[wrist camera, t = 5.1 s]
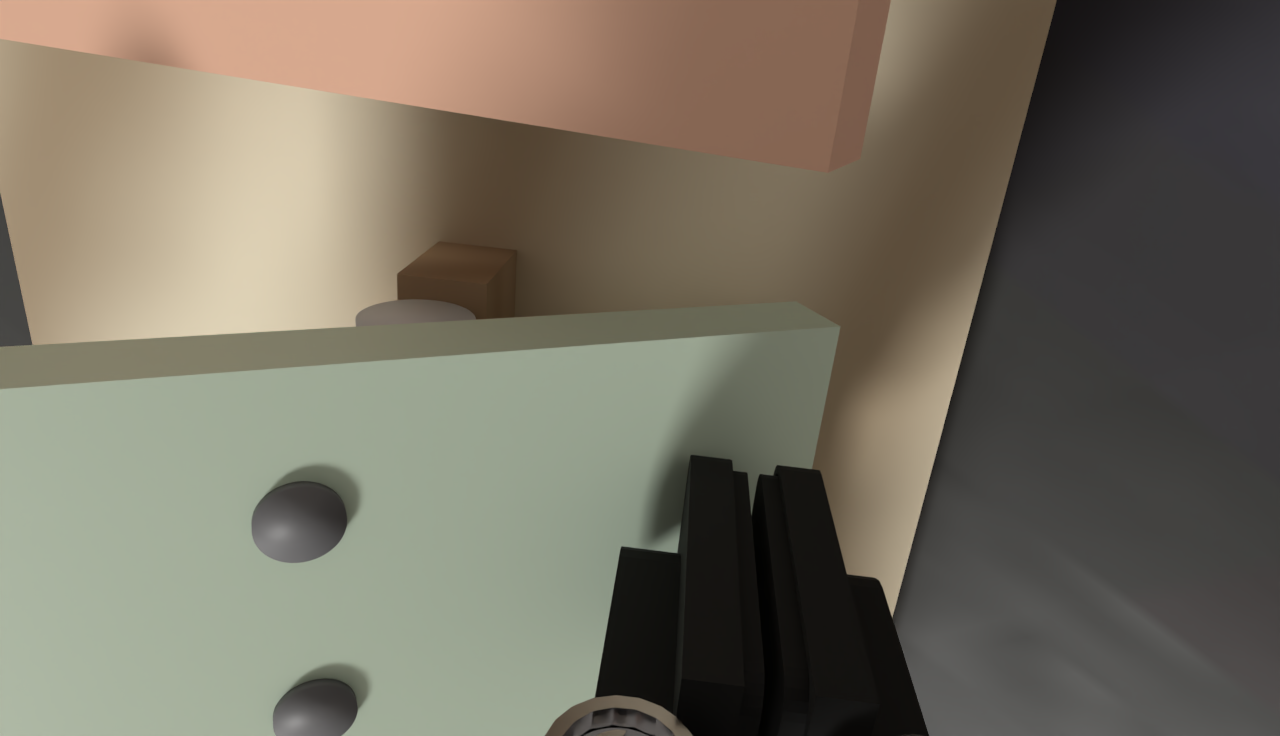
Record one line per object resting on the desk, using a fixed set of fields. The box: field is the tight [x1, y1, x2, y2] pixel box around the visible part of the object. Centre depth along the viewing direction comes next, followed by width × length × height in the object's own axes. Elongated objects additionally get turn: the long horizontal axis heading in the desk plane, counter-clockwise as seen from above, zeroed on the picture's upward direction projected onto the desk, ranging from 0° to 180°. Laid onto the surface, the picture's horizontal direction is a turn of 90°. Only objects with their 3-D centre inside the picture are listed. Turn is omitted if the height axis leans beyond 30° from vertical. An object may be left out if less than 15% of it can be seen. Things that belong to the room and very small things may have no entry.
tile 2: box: [0, 299, 841, 736], centre depth 10 cm, size 10×6×2 cm, turn 84°
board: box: [0, 0, 1057, 617], centre depth 13 cm, size 15×24×3 cm, turn 175°
